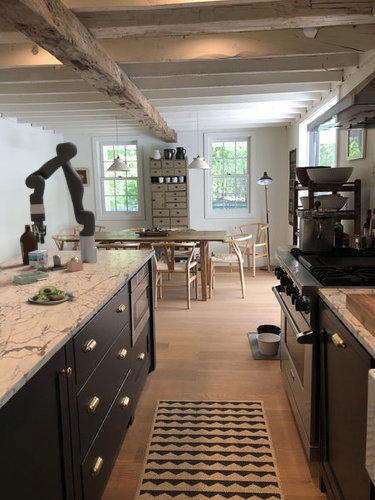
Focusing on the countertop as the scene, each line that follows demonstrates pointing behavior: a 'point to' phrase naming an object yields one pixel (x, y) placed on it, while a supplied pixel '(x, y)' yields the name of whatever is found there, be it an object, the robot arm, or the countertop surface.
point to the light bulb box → (38, 258)
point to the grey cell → (57, 261)
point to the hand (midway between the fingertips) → (40, 243)
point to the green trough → (26, 279)
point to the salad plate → (51, 296)
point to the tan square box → (74, 265)
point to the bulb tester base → (50, 269)
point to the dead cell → (74, 259)
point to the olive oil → (27, 244)
